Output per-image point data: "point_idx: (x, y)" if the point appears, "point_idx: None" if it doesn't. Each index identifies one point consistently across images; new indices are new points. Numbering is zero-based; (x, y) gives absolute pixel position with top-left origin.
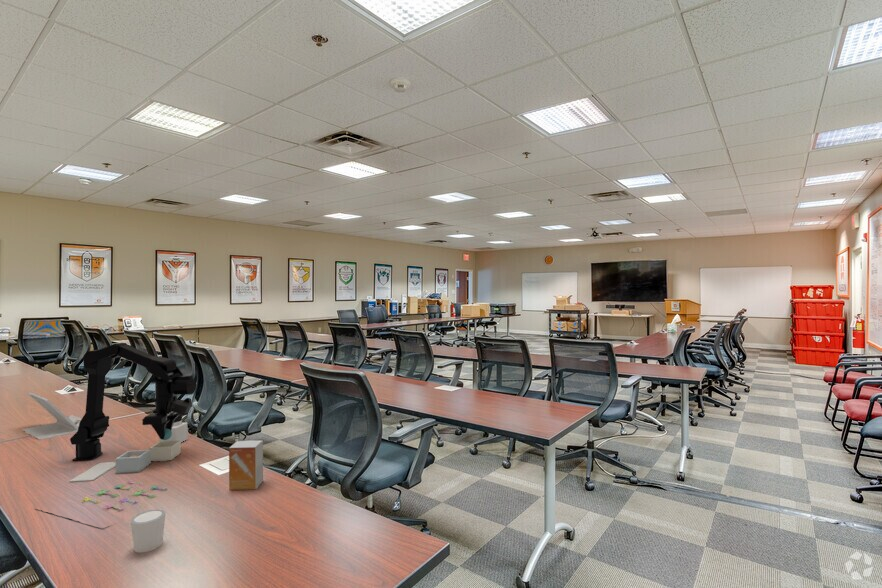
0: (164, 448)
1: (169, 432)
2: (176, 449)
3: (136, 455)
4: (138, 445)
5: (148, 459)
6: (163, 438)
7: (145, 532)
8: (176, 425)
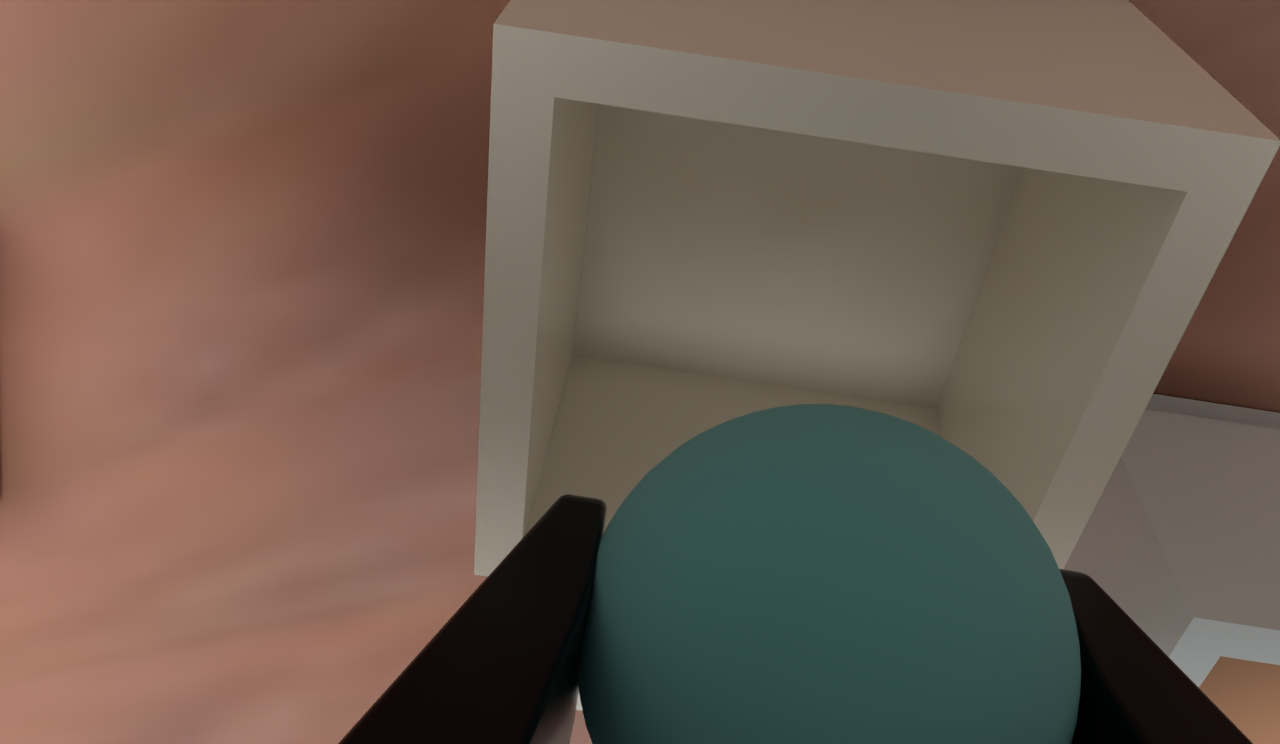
0: (1166, 323)
1: (976, 590)
2: (846, 5)
3: None
4: (25, 738)
5: (1218, 478)
6: (1089, 585)
7: None
8: None
